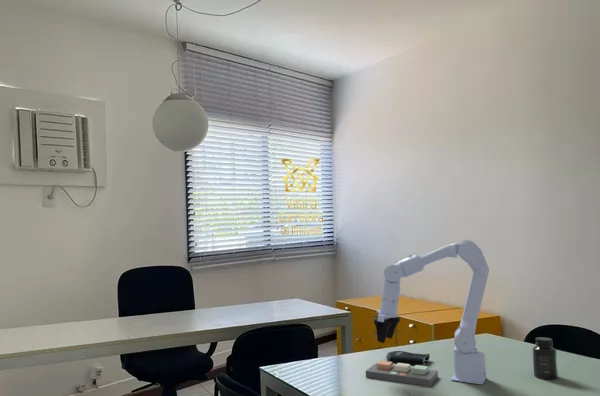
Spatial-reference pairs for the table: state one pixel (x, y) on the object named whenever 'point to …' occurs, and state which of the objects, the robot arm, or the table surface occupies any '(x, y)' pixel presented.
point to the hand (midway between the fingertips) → (384, 339)
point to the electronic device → (407, 357)
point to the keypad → (402, 376)
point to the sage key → (420, 370)
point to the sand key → (402, 367)
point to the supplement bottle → (545, 359)
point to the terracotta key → (384, 365)
